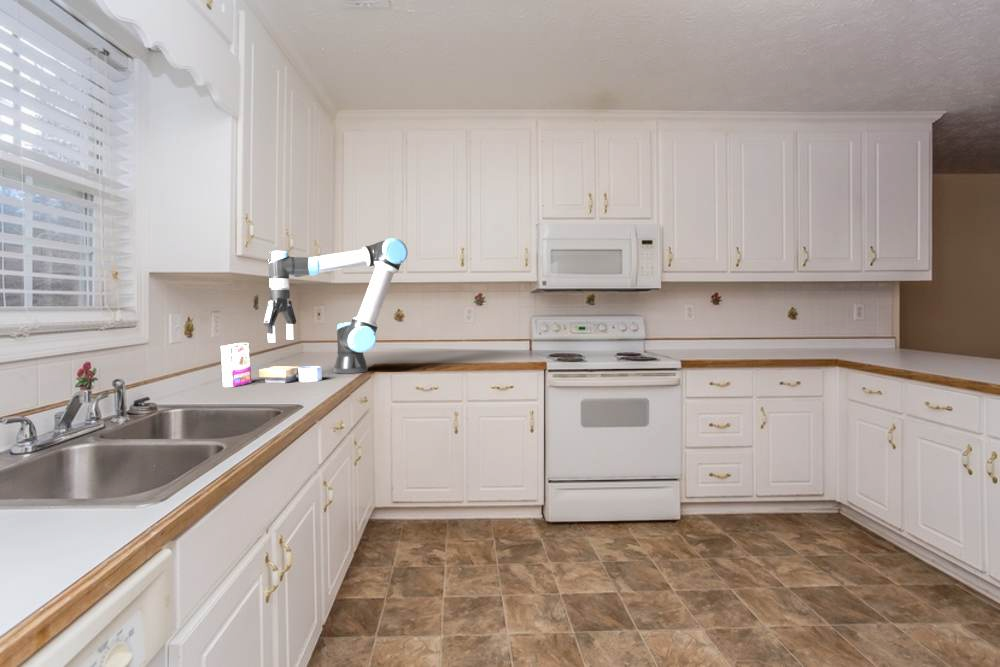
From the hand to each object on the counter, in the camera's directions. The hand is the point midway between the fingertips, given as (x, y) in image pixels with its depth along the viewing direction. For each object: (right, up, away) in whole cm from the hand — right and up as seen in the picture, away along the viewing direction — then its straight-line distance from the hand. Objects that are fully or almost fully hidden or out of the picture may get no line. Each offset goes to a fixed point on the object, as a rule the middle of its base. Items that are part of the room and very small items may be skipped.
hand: (281, 340), depth 208 cm
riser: (-1, -17, +2) cm, 17 cm away
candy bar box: (-15, -18, -6) cm, 24 cm away
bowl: (+10, -17, +4) cm, 20 cm away
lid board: (-1, -14, +2) cm, 15 cm away
